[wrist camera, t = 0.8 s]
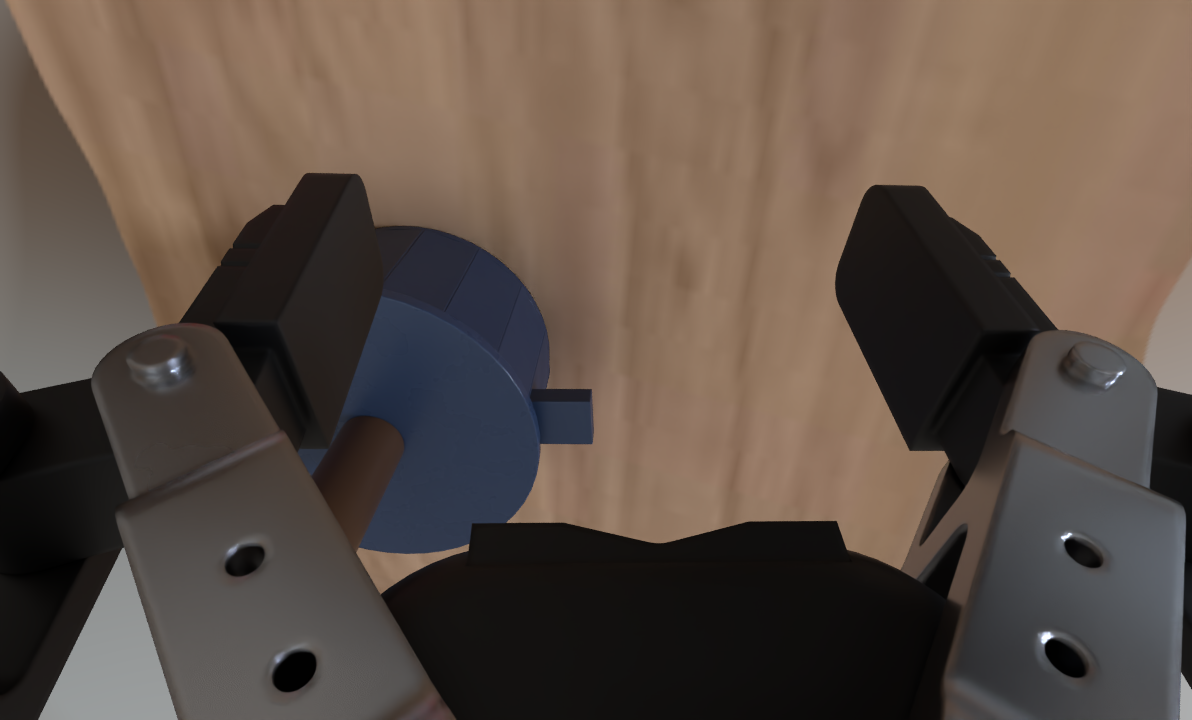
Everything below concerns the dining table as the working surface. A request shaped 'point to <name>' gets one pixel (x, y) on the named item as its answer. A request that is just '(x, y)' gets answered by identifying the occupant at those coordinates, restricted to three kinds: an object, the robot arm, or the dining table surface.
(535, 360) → the pot
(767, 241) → the dining table surface
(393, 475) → the lid
